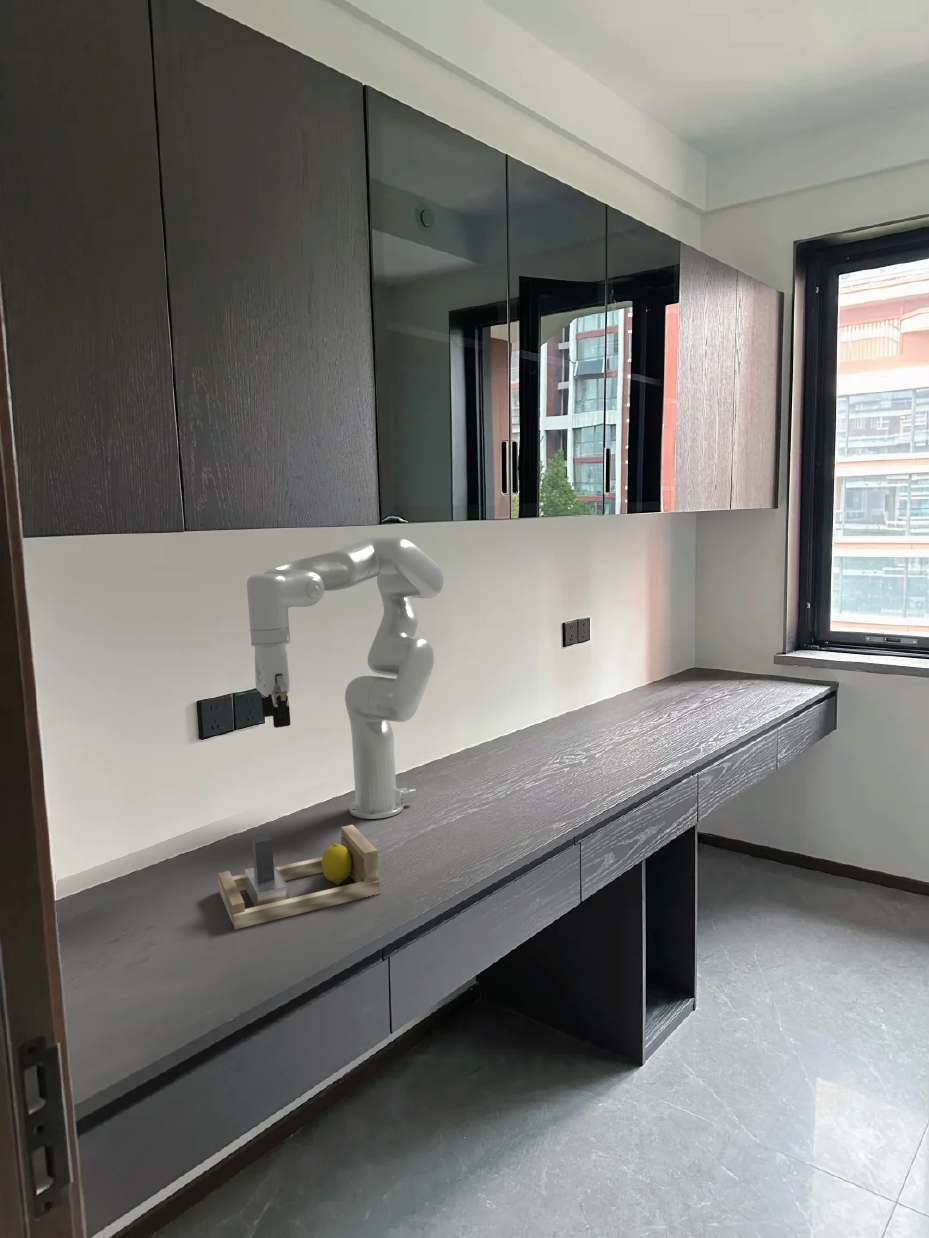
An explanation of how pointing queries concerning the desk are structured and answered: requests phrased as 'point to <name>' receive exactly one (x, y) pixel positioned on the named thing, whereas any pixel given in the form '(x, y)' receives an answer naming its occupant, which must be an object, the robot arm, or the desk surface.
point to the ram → (264, 875)
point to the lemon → (336, 863)
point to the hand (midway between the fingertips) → (276, 721)
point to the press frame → (361, 873)
